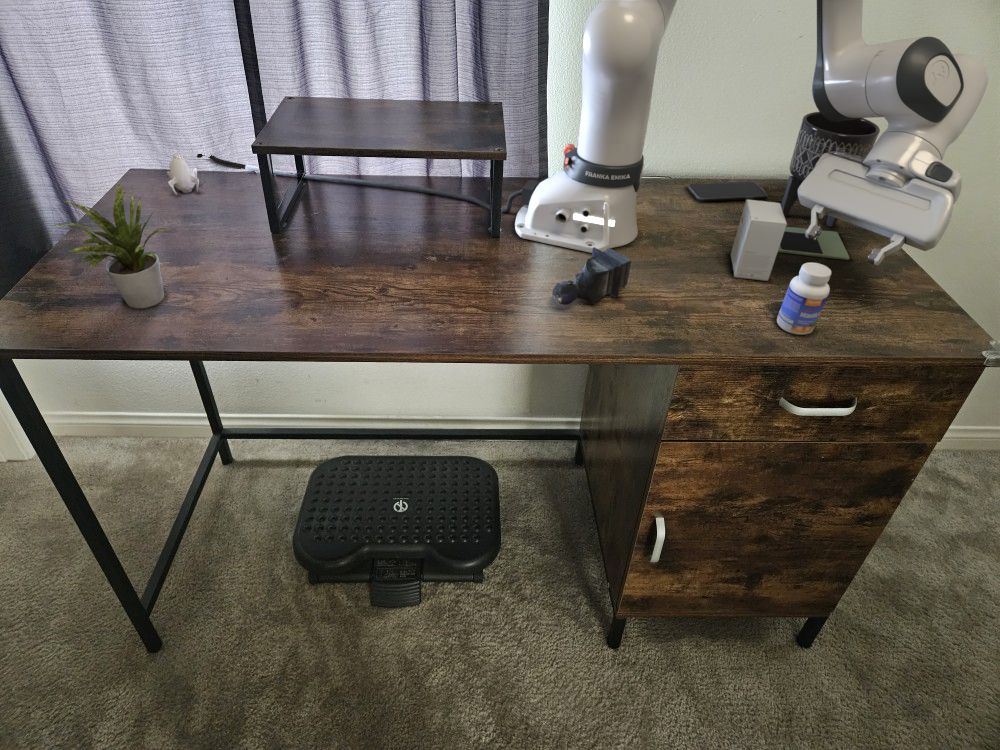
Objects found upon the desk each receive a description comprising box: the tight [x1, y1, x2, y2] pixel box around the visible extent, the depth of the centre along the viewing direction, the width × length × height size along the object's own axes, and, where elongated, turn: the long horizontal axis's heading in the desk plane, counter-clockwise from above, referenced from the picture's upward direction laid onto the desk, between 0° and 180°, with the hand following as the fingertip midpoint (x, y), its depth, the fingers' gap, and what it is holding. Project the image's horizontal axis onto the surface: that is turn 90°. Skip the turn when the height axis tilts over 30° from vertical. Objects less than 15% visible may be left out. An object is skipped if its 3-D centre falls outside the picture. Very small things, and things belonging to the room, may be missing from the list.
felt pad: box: [777, 226, 851, 261], centre depth 118 cm, size 14×10×1 cm
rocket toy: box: [166, 150, 200, 196], centre depth 124 cm, size 5×5×8 cm
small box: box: [730, 199, 788, 282], centre depth 107 cm, size 8×6×10 cm
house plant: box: [51, 183, 170, 309], centre depth 93 cm, size 14×14×16 cm
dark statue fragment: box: [552, 247, 632, 306], centre depth 99 cm, size 6×13×6 cm, turn 130°
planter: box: [780, 111, 881, 228], centre depth 121 cm, size 13×13×18 cm
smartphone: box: [687, 180, 769, 203], centre depth 133 cm, size 7×1×15 cm
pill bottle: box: [776, 262, 832, 336], centre depth 94 cm, size 5×5×10 cm
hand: (840, 249), depth 94 cm, fingers open, 8 cm apart
